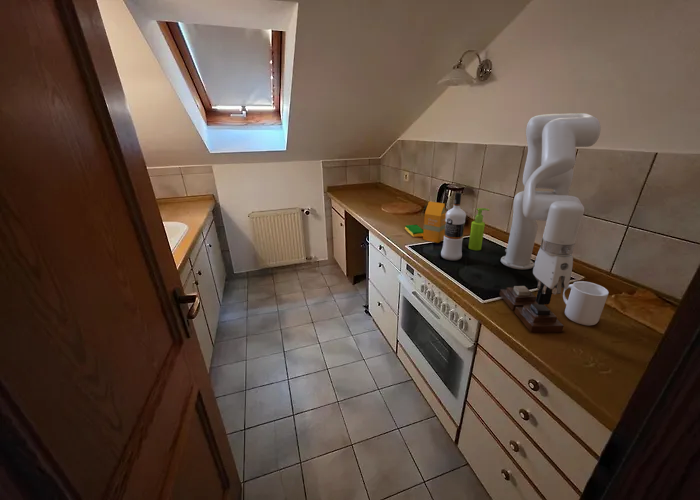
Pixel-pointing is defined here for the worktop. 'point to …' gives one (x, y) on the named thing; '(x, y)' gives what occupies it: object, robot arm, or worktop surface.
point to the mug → (585, 302)
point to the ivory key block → (516, 298)
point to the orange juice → (434, 222)
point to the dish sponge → (414, 230)
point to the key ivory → (521, 290)
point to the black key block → (538, 320)
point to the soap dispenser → (477, 231)
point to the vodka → (454, 231)
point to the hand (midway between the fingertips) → (542, 302)
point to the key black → (540, 309)
